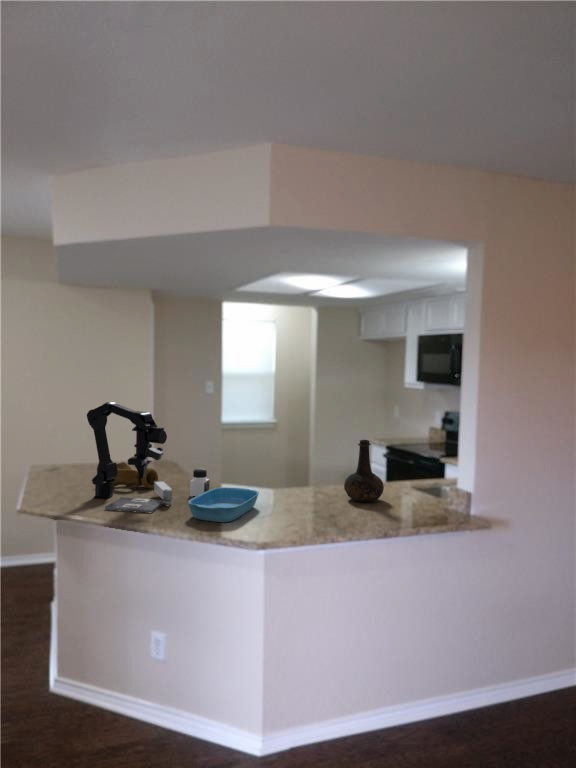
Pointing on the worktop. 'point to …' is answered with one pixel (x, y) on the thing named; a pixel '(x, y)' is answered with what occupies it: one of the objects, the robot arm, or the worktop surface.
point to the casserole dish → (223, 503)
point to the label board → (136, 504)
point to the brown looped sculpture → (134, 477)
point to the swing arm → (163, 490)
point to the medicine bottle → (199, 482)
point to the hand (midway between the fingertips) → (142, 477)
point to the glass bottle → (364, 478)
